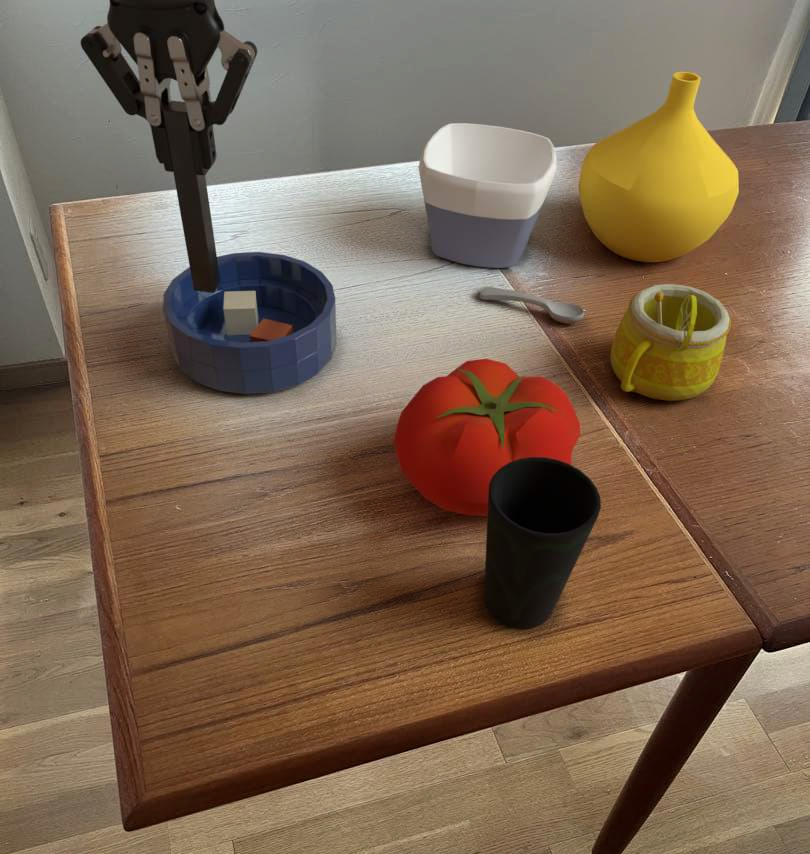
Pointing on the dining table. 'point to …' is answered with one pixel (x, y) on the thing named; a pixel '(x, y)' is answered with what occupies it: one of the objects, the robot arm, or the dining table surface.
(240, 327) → the block
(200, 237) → the stick
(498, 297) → the spoon
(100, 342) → the dining table surface
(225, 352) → the bowl
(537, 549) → the cup
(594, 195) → the vase
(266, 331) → the block
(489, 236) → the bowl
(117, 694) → the dining table surface
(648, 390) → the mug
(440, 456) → the tomato
